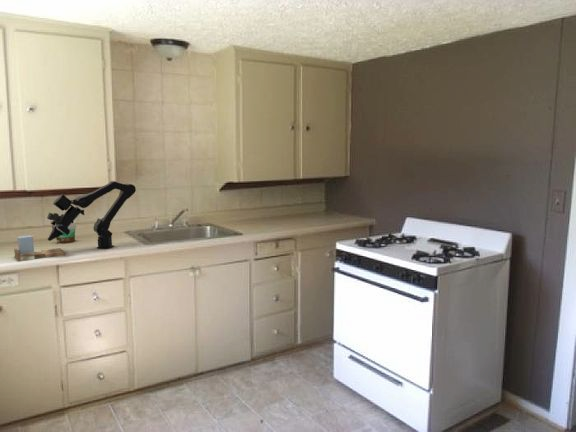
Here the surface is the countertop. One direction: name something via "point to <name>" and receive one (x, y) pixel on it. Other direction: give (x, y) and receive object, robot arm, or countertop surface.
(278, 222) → the countertop surface
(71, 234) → the food container
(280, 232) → the countertop surface
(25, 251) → the blue-grey block
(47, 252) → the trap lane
